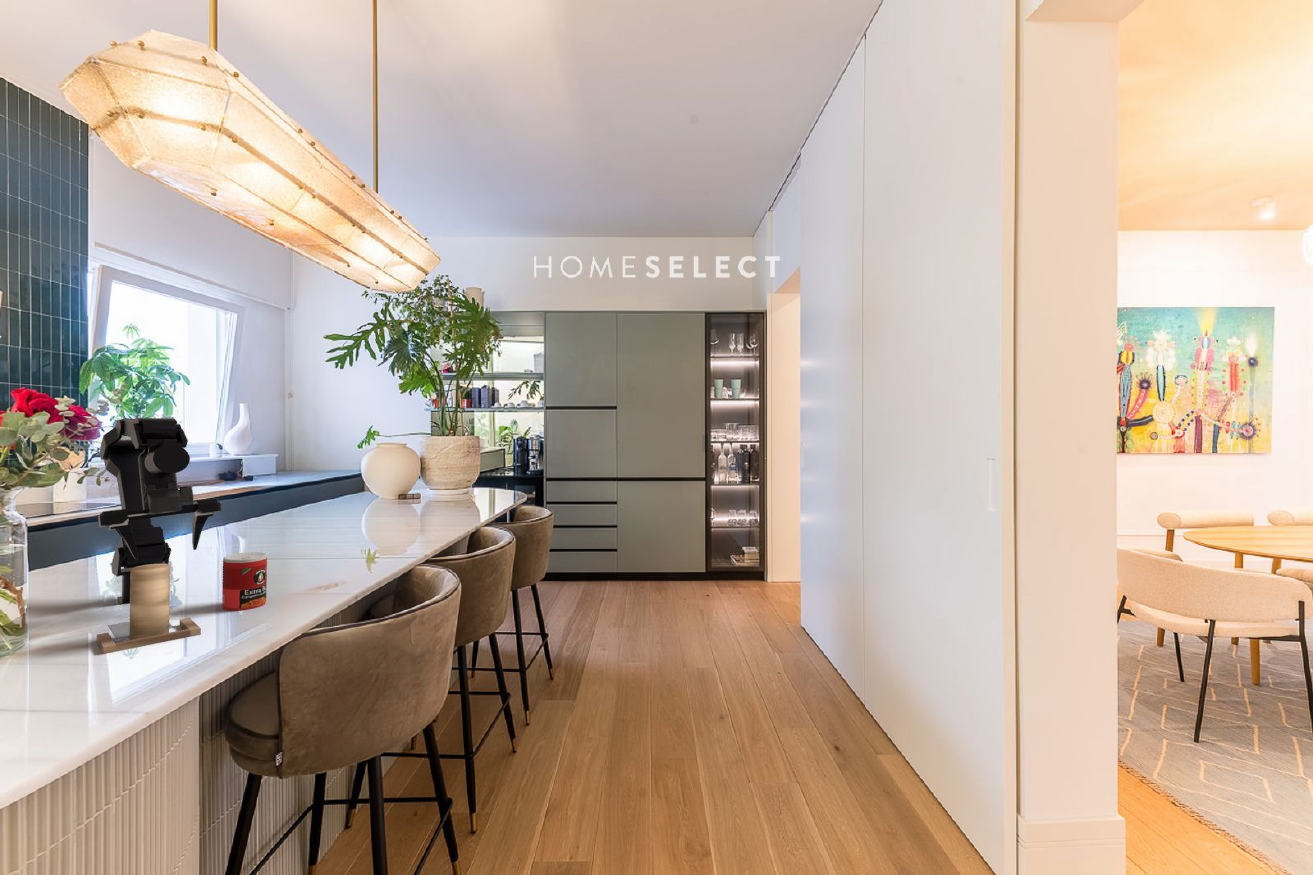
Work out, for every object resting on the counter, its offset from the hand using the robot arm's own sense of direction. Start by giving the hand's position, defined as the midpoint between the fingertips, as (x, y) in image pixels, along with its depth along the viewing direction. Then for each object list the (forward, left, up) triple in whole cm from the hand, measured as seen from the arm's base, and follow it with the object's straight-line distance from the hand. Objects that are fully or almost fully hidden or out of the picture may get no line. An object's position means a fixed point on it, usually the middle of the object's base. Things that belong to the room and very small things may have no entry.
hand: (166, 554), depth 119 cm
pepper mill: (+16, -5, -12) cm, 20 cm away
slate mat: (+8, -5, -12) cm, 15 cm away
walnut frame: (+16, -5, -12) cm, 21 cm away
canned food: (+6, +12, -12) cm, 18 cm away
